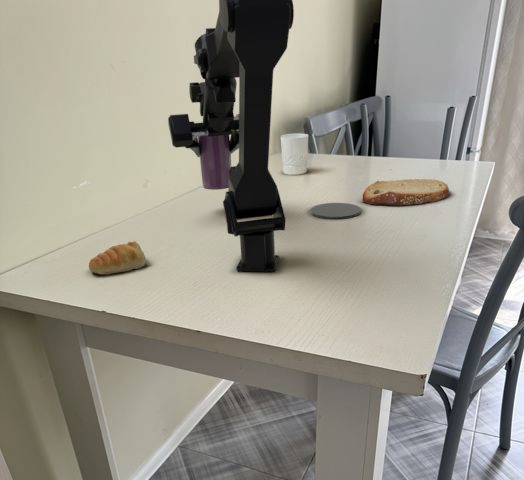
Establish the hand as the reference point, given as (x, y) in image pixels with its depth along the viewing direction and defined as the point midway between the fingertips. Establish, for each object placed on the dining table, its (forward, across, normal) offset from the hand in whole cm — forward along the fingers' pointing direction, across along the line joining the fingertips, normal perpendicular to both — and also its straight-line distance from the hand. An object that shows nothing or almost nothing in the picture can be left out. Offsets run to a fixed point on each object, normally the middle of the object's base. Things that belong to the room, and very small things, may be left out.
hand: (214, 153), depth 111 cm
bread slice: (+4, -43, +14) cm, 46 cm away
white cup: (+30, -28, -13) cm, 43 cm away
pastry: (-11, +23, +29) cm, 38 cm away
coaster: (+1, -24, +17) cm, 29 cm away
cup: (+4, 0, +6) cm, 7 cm away
